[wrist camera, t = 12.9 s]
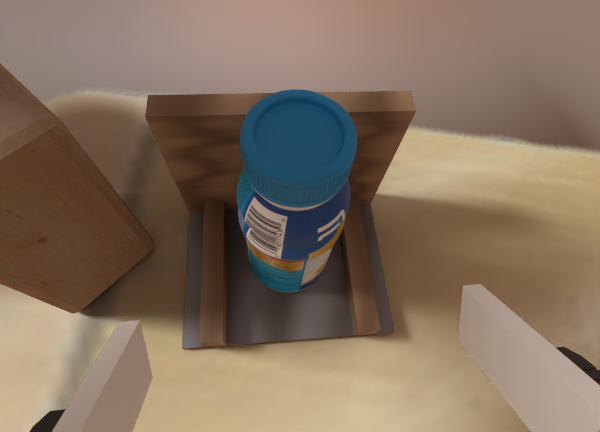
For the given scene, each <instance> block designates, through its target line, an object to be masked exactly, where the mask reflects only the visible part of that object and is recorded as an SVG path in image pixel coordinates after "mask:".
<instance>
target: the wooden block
mask: <svg viewBox="0 0 600 432" xmlns="http://www.w3.org/2000/svg"><path fill="white" fill-rule="evenodd" d="M153 248H154V243H153V240H152V238H151V236H150V235H149V234H148V233H147V231H146V230H145V229H144V227H143V226H142V225H141V223H140V222H139V221H138V220H137V218H136V217H135V216H134V214H133V213H132V212H131V211H130V209H129V208H128V207H127V205H126V204H125V203H124V201H123V200H122V199H121V198H120V196H119V195H118V194H117V192H116V191H115V190H114V189H113V187H112V186H111V185H110V183H109V182H108V181H107V180H106V178H105V177H104V176H103V174H102V173H101V172H100V170H99V169H98V168H97V167H96V165H95V164H94V163H93V161H92V160H91V159H90V158H89V156H88V155H87V154H86V152H85V151H84V150H83V148H82V147H81V146H80V145H79V143H78V142H77V141H76V139H75V138H74V137H73V136H72V134H71V133H70V132H69V130H68V129H67V128H66V126H65V125H64V124H63V123H62V122H61V121H60V120H59V119H58V118H57V117H56V116H55V115H54V114H53V113H52V112H51V111H50V110H49V109H48V108H47V107H46V106H45V105H43V104H42V103H41V102H40V101H39V100H38V99H37V98H36V97H35V96H34V95H33V94H32V93H31V92H30V91H29V90H28V89H27V88H25V87H24V86H23V85H22V84H21V83H20V82H19V81H18V80H17V79H16V78H15V77H14V76H13V75H12V74H11V73H10V72H9V71H7V70H6V69H5V68H4V67H3V66H2V65H1V64H0V284H2V285H5V286H7V287H10V288H12V289H15V290H17V291H19V292H22V293H24V294H27V295H29V296H31V297H34V298H36V299H39V300H41V301H44V302H46V303H48V304H51V305H53V306H56V307H58V308H60V309H63V310H65V311H68V312H70V313H77V312H79V311H81V310H83V309H84V308H85V307H86V306H88V305H89V304H90V303H91V302H92V301H93V300H95V299H96V298H97V297H98V296H99V295H100V294H102V293H103V292H104V291H105V290H106V289H108V288H109V287H110V286H111V285H112V284H113V283H115V282H116V281H117V280H118V279H119V278H120V277H122V276H123V275H124V274H125V273H126V272H128V271H129V270H130V269H131V268H132V267H133V266H135V265H136V264H137V263H138V262H139V261H140V260H142V259H143V258H144V257H145V256H146V255H148V254H149V253H150V252H151V251H152V249H153Z"/></svg>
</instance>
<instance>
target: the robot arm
mask: <svg viewBox="0 0 600 432" xmlns="http://www.w3.org/2000/svg"><path fill="white" fill-rule="evenodd" d="M458 342H459V343H460V345H461V346H462V347H463V348H464V349H465V351H466V352H467V353H468V354H469V356H470V357H471V358H472V359H473V361H474V362H475V363H476V364H477V366H478V367H479V368H480V369H481V370H482V372H483V373H484V374H485V375H486V377H487V378H488V379H489V380H490V382H491V383H492V384H493V385H494V387H495V388H496V389H497V390H498V392H499V393H500V394H501V395H502V396H503V398H504V399H505V400H506V401H507V403H508V404H509V405H510V406H511V408H512V409H513V410H514V411H515V413H516V414H517V415H518V416H519V417H520V419H521V420H522V421H523V422H524V424H525V425H526V426H527V427H528V429H529V430H530V431H531V432H600V371H599V370H597V369H596V367H595V366H593V365H592V364H591V363H590V362H588V361H587V360H586V359H585V358H583V357H582V356H580V355H579V354H577V353H575V352H573V351H571V350H569V349H567V348H565V347H558V348H555V347H554V346H553V345H552V344H551V343H549V342H548V341H547V340H546V339H545V338H544V337H542V336H541V335H540V334H539V333H538V332H536V331H535V330H534V329H533V328H532V327H531V326H529V325H528V324H527V323H526V322H525V321H524V320H522V319H521V318H520V317H519V316H518V315H516V314H515V313H514V312H513V311H512V310H511V309H509V308H508V307H507V306H506V305H505V304H504V303H502V302H501V301H500V300H499V299H498V298H497V297H495V296H494V295H493V294H492V293H491V292H489V291H488V290H487V289H486V288H485V287H484V286H482V285H481V284H474V285H464V286H463V290H462V301H461V312H460V322H459V333H458ZM152 378H153V376H152V372H151V368H150V363H149V359H148V354H147V350H146V345H145V341H144V336H143V332H142V328H141V323H140V320H135V321H126V322H119V324H118V325H117V327H116V329H115V330H114V332H113V333H112V335H111V337H110V338H109V340H108V342H107V343H106V345H105V346H104V348H103V350H102V351H101V353H100V354H99V356H98V358H97V359H96V361H95V363H94V364H93V366H92V367H91V369H90V371H89V372H88V374H87V376H86V377H85V379H84V380H83V382H82V384H81V385H80V387H79V389H78V390H77V392H76V393H75V395H74V397H73V398H72V400H71V402H70V403H69V405H68V406H67V408H66V409H64V410H56V411H50V412H49V413H48V414H46V415H45V416H44V417H43V418H42V419H41V420H40V421H39V422H38V423H36V424H35V425H34V426H33V427H32V429H31V430H30V432H132V431H133V428H134V426H135V423H136V420H137V418H138V415H139V412H140V410H141V407H142V404H143V402H144V399H145V397H146V394H147V391H148V389H149V386H150V383H151V381H152Z"/></svg>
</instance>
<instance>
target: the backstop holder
mask: <svg viewBox="0 0 600 432" xmlns="http://www.w3.org/2000/svg"><path fill="white" fill-rule="evenodd" d="M318 93H319V94H322V95H324V96H327V97H329V98H330V99H332V100H334V101H335V102H337V103H338V104H339V105H340V106H341V107H343V108H344V109H345V111H346V112H347V113H348V114H349V116H350V117H351V119H352V121H353V123H354V126H355V129H356V134H357V149H356V154H355V158H354V161H353V164H352V167H351V170H350V173H349V175H348V181H349V186H350V204H349V208H348V212H347V214H346V216H345V222H344V226H343V229H342V231H341V234H340V236H339V237H338V239H337V240H336V242H335V243H334V245H333V248H332V250H331V252H330V255H329V257H328V261H327V264H326V267H325V269H324V272H323V273H322V275H321V276H320V278H319V279H318V280H317V281H316V282H315V283H314V284H312V285H311V286H309V287H307V288H305V289H303V290H300V291H296V292H280V291H276V290H273V289H271V288H269V287H267V286H266V285H264V284H263V283H262V282H260V281H259V280H258V279H257V277H256V276H255V275H254V273H253V271H252V269H251V267H250V264H249V259H248V247H247V242H246V237H245V235H244V233H243V231H242V229H241V226H240V223H239V217H238V203H237V184H238V180H239V177H240V174H241V172H242V170H243V163H242V157H241V150H240V139H239V138H240V133H241V127H242V123H243V120H244V118H245V116H246V114H247V113H248V111H249V110H250V109H251V108H252V107H253V106H254V105H255V104H256V103H257V102H258V101H260V100H261V99H263V98H265V97H266V96H269V95H271V94H273V93H261V94H260V93H259V94H258V93H257V94H196V95H148V100H147V108H146V115H145V117H146V119H147V121H148V123H149V125H150V128H151V130H152V132H153V134H154V136H155V138H156V141H157V143H158V145H159V147H160V149H161V151H162V154H163V156H164V158H165V160H166V162H167V164H168V167H169V169H170V171H171V173H172V175H173V177H174V180H175V182H176V184H177V186H178V188H179V190H180V193H181V195H182V197H183V199H184V201H185V203H186V206H187V208H188V210H189V231H188V249H187V267H186V286H185V304H184V322H183V341H182V349H196V348H209V347H221V346H234V345H247V344H260V343H273V342H286V341H299V340H312V339H325V338H338V337H351V336H363V335H376V334H389V333H393V332H394V329H393V324H392V319H391V313H390V308H389V303H388V297H387V292H386V286H385V281H384V276H383V270H382V265H381V260H380V254H379V249H378V243H377V238H376V233H375V227H374V222H373V217H372V211H371V206H370V203H371V201H372V199H373V197H374V195H375V193H376V191H377V189H378V187H379V185H380V183H381V181H382V179H383V177H384V175H385V173H386V171H387V169H388V167H389V165H390V163H391V161H392V159H393V157H394V155H395V153H396V151H397V149H398V147H399V145H400V143H401V141H402V139H403V137H404V135H405V133H406V131H407V129H408V126H409V124H410V122H411V120H412V118H413V116H414V114H415V112H416V108H415V104H414V101H413V97H412V94H411V91H379V92H318Z"/></svg>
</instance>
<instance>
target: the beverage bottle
mask: <svg viewBox="0 0 600 432" xmlns="http://www.w3.org/2000/svg"><path fill="white" fill-rule="evenodd" d="M239 139H240V150H241V157H242V163H243V170H242V172H241V174H240V177H239V180H238V184H237V203H238V217H239V223H240V226H241V229H242V231H243V233H244V235H245V237H246V242H247V247H248V259H249V264H250V267H251V269H252V271H253V273H254V275H255V276H256V277H257V279H258V280H259V281H260V282H262V283H263V284H264V285H266V286H267V287H269V288H271V289H273V290H276V291H280V292H296V291H300V290H303V289H305V288H307V287H309V286H311V285H312V284H314V283H315V282H316V281H317V280H318V279H319V278H320V276H321V275H322V273H323V272H324V269H325V267H326V264H327V261H328V257H329V255H330V252H331V250H332V248H333V245H334V243H335V242H336V240H337V239H338V237H339V236H340V234H341V231H342V229H343V226H344V222H345V216H346V214H347V212H348V208H349V204H350V186H349V181H348V175H349V173H350V170H351V167H352V164H353V161H354V158H355V154H356V149H357V134H356V129H355V126H354V123H353V121H352V119H351V117H350V116H349V114H348V113H347V112H346V111H345V109H344V108H343V107H341V106H340V105H339V104H338V103H337V102H335V101H334V100H332V99H330V98H329V97H327V96H324V95H322V94H319V93H316V92H312V91H307V90H286V91H280V92H276V93H273V94H271V95H269V96H266V97H265V98H263V99H261V100H260V101H258V102H257V103H256V104H255V105H254V106H253V107H252V108H251V109H250V110H249V111H248V113H247V114H246V116H245V118H244V120H243V123H242V127H241V133H240V138H239Z"/></svg>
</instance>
